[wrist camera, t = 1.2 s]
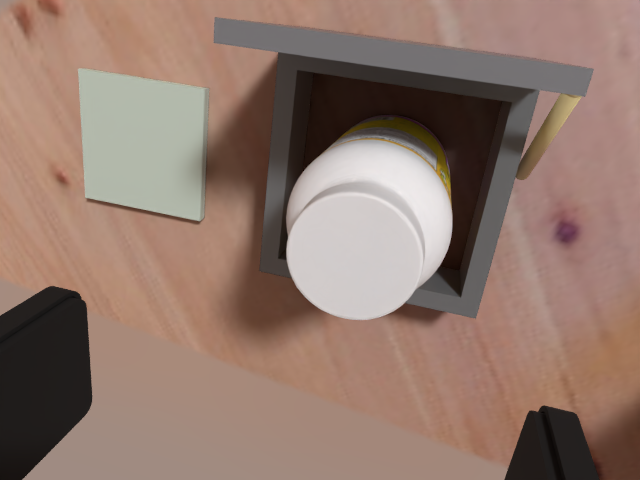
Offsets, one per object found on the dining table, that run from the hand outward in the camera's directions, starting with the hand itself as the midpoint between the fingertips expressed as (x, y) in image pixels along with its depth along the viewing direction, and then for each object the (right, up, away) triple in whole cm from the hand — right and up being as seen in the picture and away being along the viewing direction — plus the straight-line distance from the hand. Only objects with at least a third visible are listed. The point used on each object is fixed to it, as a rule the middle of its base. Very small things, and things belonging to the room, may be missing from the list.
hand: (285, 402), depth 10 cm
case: (+5, +7, +18) cm, 20 cm away
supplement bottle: (+5, +7, +18) cm, 20 cm away
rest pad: (-10, +9, +21) cm, 25 cm away
